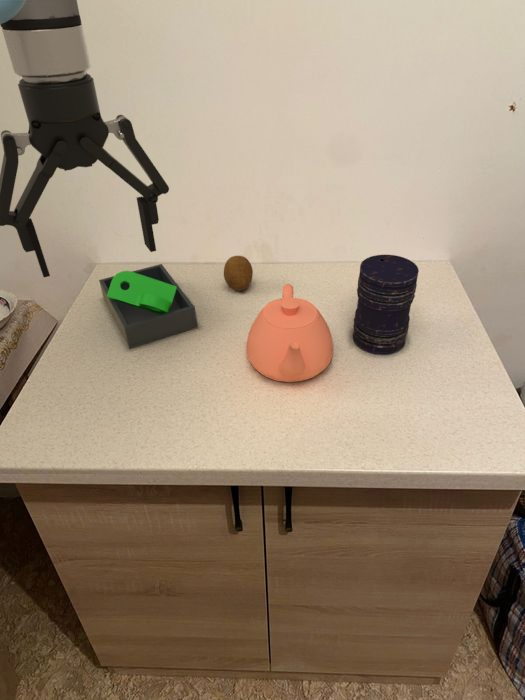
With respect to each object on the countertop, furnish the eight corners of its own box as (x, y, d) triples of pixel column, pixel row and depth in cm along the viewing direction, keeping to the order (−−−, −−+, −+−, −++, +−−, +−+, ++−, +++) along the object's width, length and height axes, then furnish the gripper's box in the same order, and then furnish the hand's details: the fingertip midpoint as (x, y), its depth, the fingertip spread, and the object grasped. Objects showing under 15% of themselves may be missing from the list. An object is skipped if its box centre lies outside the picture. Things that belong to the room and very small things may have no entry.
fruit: (221, 295, 107) (218, 262, 102) (229, 280, 112) (226, 248, 107) (249, 298, 106) (248, 264, 101) (256, 283, 111) (255, 250, 106)
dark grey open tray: (129, 348, 93) (124, 327, 90) (104, 299, 107) (98, 279, 104) (197, 327, 98) (195, 307, 95) (164, 282, 112) (161, 263, 109)
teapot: (340, 406, 80) (346, 345, 73) (246, 408, 80) (242, 348, 73) (325, 325, 97) (329, 269, 90) (247, 327, 98) (244, 272, 90)
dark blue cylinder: (415, 350, 91) (430, 278, 81) (364, 359, 89) (373, 287, 80) (391, 320, 98) (403, 251, 89) (344, 327, 97) (350, 258, 88)
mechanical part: (176, 288, 100) (178, 280, 93) (167, 316, 100) (168, 311, 92) (117, 268, 98) (113, 259, 91) (107, 297, 98) (103, 290, 90)
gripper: (158, 58, 59) (180, 228, 72) (-81, 82, 50) (-7, 270, 63) (181, 68, 54) (200, 249, 67) (-83, 96, 45) (-1, 298, 58)
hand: (99, 259), depth 65 cm, fingers open, 13 cm apart
